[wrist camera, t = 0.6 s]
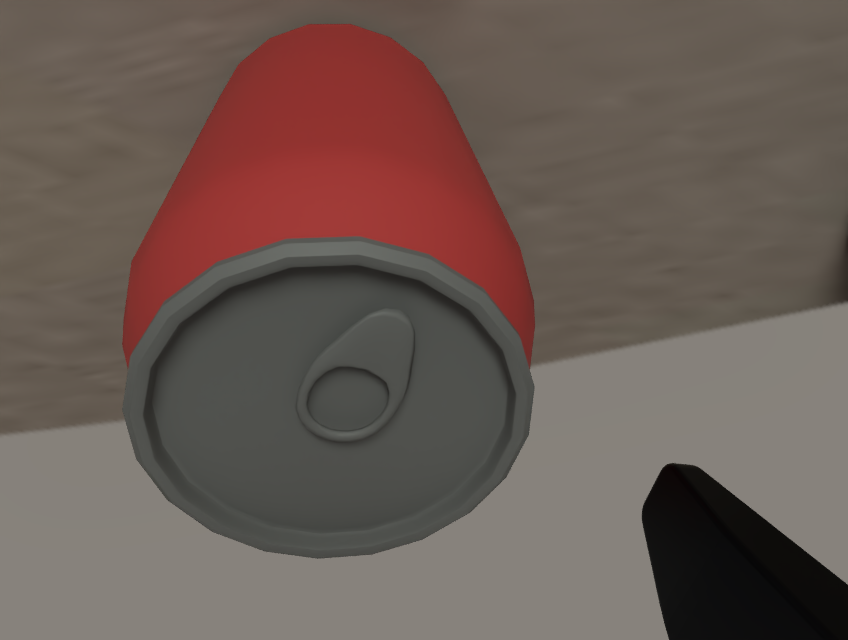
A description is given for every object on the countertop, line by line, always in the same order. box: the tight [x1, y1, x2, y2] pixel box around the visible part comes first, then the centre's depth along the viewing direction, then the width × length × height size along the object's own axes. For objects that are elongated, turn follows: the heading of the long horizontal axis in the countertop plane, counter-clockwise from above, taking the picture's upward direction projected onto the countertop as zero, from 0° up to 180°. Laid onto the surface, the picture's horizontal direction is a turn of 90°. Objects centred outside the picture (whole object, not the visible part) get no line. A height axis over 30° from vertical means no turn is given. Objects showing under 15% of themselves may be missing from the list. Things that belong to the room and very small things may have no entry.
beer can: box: [122, 24, 535, 558], centre depth 15 cm, size 7×7×12 cm
